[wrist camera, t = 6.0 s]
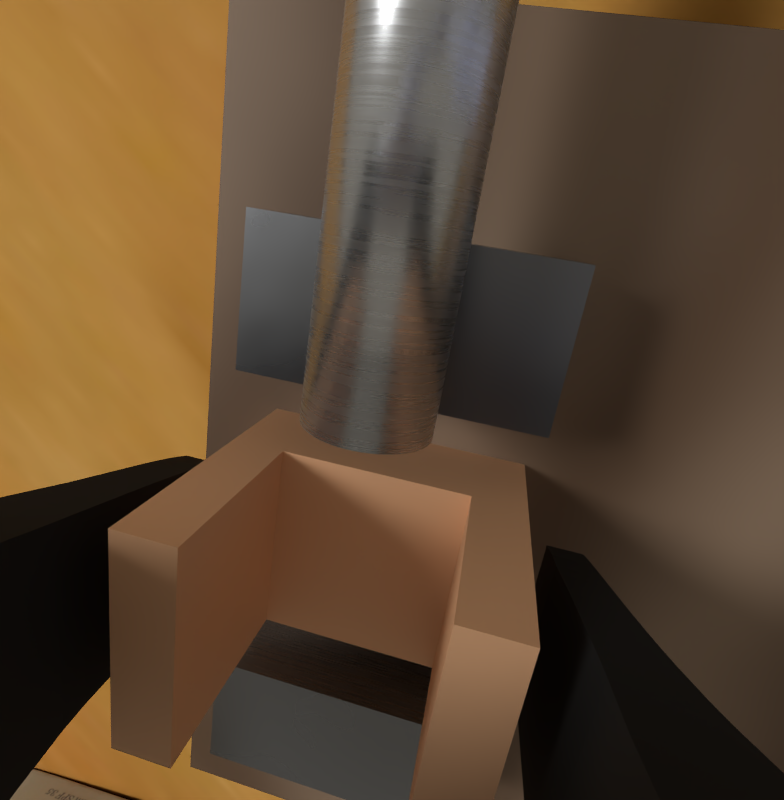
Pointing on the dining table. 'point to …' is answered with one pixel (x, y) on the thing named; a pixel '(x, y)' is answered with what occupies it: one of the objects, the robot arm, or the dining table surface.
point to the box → (57, 789)
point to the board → (587, 312)
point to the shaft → (399, 214)
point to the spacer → (330, 588)
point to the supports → (461, 398)
